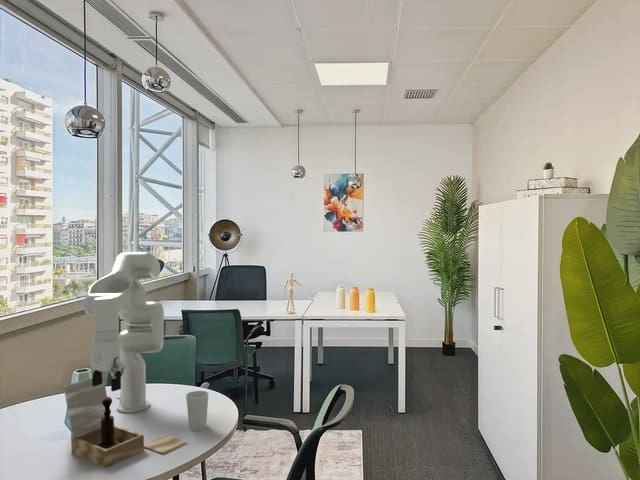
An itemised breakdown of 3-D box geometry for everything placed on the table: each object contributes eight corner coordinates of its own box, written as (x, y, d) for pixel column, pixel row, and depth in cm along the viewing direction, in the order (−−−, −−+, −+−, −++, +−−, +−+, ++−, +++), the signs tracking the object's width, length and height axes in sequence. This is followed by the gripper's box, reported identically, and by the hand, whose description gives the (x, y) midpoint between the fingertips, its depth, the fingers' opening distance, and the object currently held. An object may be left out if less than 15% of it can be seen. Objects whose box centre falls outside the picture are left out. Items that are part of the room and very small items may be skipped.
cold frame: (64, 450, 168) (63, 385, 167) (102, 435, 180) (101, 374, 179) (106, 467, 157) (104, 397, 156) (143, 449, 169) (143, 385, 168)
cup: (203, 432, 183) (202, 398, 182) (182, 430, 184) (182, 397, 184) (212, 423, 191) (212, 391, 190) (192, 421, 192) (192, 390, 192)
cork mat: (142, 447, 170) (142, 445, 170) (166, 436, 179) (166, 434, 179) (163, 454, 165) (162, 452, 165) (186, 443, 174) (186, 441, 174)
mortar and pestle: (101, 447, 170) (100, 393, 170) (121, 446, 171) (120, 393, 170) (94, 456, 164) (93, 401, 163) (115, 455, 164) (114, 400, 164)
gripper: (79, 334, 167) (79, 386, 168) (112, 340, 158) (113, 395, 158) (99, 330, 174) (100, 380, 174) (133, 335, 164) (133, 389, 165)
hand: (106, 387), depth 166 cm, fingers open, 9 cm apart
